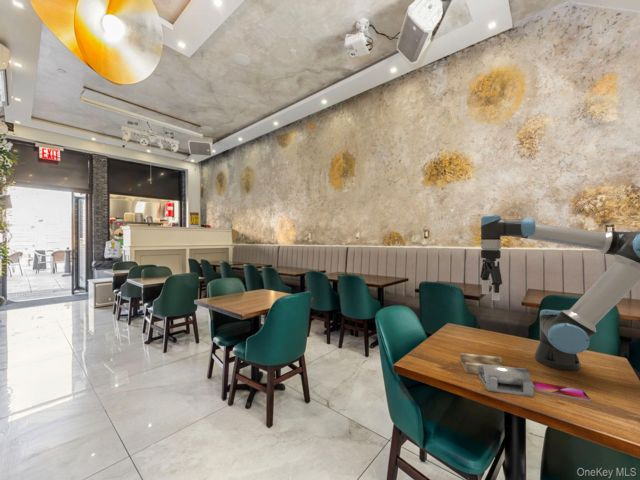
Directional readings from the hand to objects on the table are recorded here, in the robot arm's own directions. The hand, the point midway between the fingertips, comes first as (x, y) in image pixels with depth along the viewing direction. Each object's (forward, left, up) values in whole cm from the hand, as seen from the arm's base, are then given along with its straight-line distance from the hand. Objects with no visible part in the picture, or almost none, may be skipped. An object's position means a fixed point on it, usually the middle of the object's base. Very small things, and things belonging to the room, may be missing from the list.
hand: (490, 297), depth 123 cm
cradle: (+2, +22, -29) cm, 36 cm away
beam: (+5, +9, -29) cm, 30 cm away
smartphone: (-16, +21, -29) cm, 39 cm away
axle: (+2, +22, -28) cm, 36 cm away
